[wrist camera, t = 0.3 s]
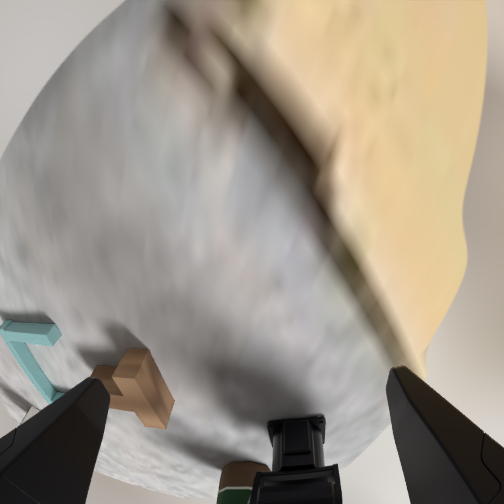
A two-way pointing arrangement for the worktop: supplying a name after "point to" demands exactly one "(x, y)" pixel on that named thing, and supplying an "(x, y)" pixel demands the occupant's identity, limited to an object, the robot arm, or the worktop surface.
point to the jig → (33, 334)
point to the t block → (138, 387)
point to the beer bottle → (238, 482)
